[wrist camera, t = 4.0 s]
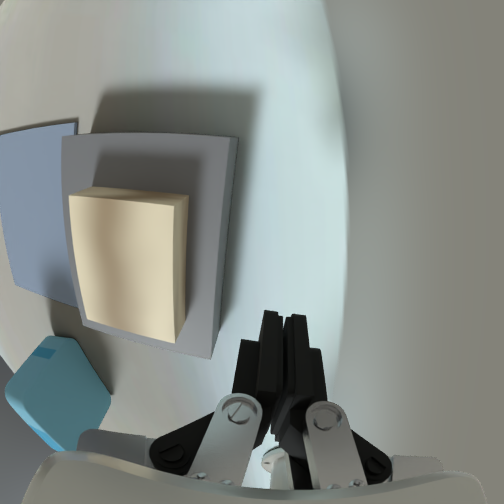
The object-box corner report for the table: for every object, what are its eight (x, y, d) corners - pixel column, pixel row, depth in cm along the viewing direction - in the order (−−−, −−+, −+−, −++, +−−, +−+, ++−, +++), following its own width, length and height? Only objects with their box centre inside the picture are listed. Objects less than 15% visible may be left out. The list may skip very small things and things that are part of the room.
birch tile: (188, 195, 16) (173, 205, 13) (185, 320, 19) (175, 343, 17) (91, 186, 16) (68, 195, 13) (103, 301, 19) (87, 319, 17)
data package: (51, 330, 27) (-1, 391, 16) (73, 332, 27) (18, 402, 16) (91, 393, 32) (58, 453, 21) (114, 398, 31) (81, 464, 20)
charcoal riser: (238, 137, 17) (229, 137, 14) (218, 332, 24) (210, 359, 21) (89, 133, 18) (61, 136, 14) (101, 305, 24) (83, 325, 21)
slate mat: (77, 122, 17) (74, 122, 17) (91, 309, 25) (89, 311, 24) (-1, 135, 18) (-4, 135, 17) (17, 283, 25) (15, 284, 25)
